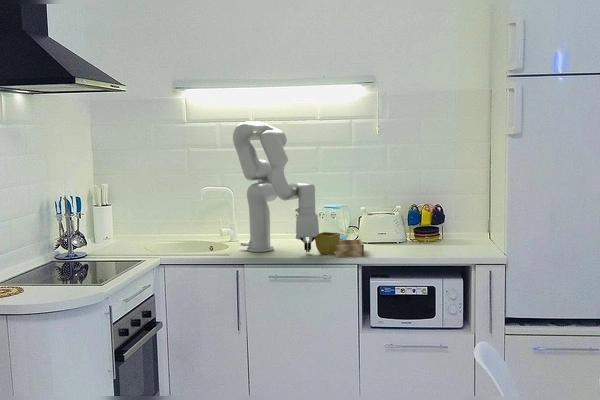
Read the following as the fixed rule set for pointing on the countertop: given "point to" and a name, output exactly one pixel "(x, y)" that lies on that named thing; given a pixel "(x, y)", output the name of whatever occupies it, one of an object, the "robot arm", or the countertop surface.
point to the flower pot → (327, 242)
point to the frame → (349, 248)
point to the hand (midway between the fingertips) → (307, 251)
